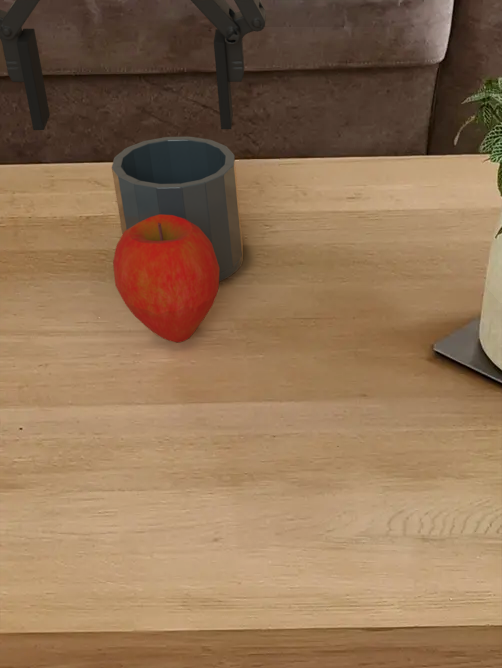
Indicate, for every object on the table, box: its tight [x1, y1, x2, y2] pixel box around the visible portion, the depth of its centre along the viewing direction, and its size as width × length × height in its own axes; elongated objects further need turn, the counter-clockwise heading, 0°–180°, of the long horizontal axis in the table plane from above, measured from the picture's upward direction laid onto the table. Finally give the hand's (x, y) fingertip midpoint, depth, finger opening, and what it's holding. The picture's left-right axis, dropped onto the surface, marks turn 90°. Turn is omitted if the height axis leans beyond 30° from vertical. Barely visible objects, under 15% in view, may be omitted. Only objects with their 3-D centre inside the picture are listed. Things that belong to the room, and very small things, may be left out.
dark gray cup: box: [111, 136, 244, 282], centre depth 107 cm, size 11×11×10 cm
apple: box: [112, 214, 220, 343], centre depth 96 cm, size 9×8×11 cm
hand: (135, 122), depth 87 cm, fingers open, 13 cm apart
